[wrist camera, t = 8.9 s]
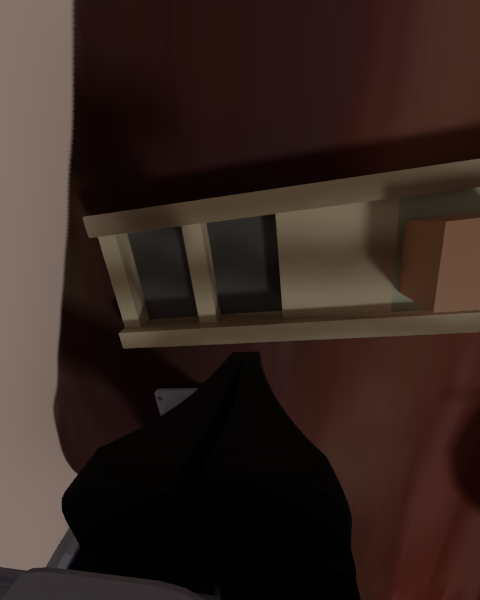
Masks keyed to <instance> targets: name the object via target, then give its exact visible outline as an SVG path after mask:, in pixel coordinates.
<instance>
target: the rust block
mask: <svg viewBox="0 0 480 600" xmlns="http://www.w3.org/2000/svg"><path fill="white" fill-rule="evenodd" d="M399 293H401V294H403V295H404V296H406V297H408V298H409V299H411V300H413V301H414V302H416V303H418V304H419V305H421V306H423V307H425V308H426V309H428V310H430V311H431V312H433V313H437V312H454V311H471V310H480V212H473V213H465V214H456V215H447V216H439V217H430V218H422V219H413V220H405V228H404V239H403V250H402V262H401V273H400V284H399Z"/></svg>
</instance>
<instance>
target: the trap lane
mask: <svg viewBox="0 0 480 600" xmlns="http://www.w3.org/2000/svg"><path fill="white" fill-rule="evenodd" d="M473 212H480V159H474V160H467V161H460V162H453V163H446V164H440V165H433V166H426V167H419V168H412V169H406V170H399V171H392V172H385V173H378V174H372V175H365V176H358V177H351V178H344V179H338V180H331V181H324V182H317V183H310V184H304V185H297V186H290V187H283V188H276V189H270V190H263V191H256V192H249V193H243V194H236V195H229V196H222V197H215V198H209V199H202V200H195V201H188V202H181V203H175V204H168V205H161V206H154V207H147V208H141V209H134V210H127V211H120V212H113V213H107V214H100V215H93V216H86V217H83V221H84V224H85V227H86V230H87V234H88V237H89V238H92V237H98V239H99V242H100V246H101V249H102V252H103V256H104V259H105V262H106V266H107V269H108V272H109V276H110V279H111V282H112V286H113V289H114V292H115V296H116V299H117V302H118V306H119V309H120V312H121V316H122V319H123V322H124V326H125V329H123V330H122V331H121V332H119V336H120V340H121V343H122V346H123V349H124V348H146V347H167V346H189V345H211V344H232V343H254V342H275V341H297V340H319V339H340V338H362V337H384V336H405V335H427V334H448V333H470V332H480V310H471V311H454V312H437V313H433V312H431V311H430V310H428V309H426V308H425V307H423V306H421V305H419V304H418V303H416V302H414V301H413V300H411V299H409V298H408V297H406V296H404V295H403V294H401V293H399V284H400V273H401V262H402V250H403V239H404V228H405V220H413V219H422V218H430V217H439V216H447V215H456V214H465V213H473Z"/></svg>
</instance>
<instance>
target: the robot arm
mask: <svg viewBox="0 0 480 600" xmlns="http://www.w3.org/2000/svg"><path fill="white" fill-rule="evenodd" d="M155 397H156V401H157V405H158V408H159V412H160V415H161V416H160V417H159V418H157V419H155V420H154V421H152V422H150V423H149V424H147V425H145V426H143V427H141V428H140V429H138V430H136V431H134V432H132V433H130V434H128V435H126V436H124V437H122V438H120V439H117V440H115V441H113V442H111V443H109V444H107V445H105V446H102V447H100V448H98V449H97V450H96V451H95V453H94V454H93V455H92V457H91V458H90V459H89V461H88V462H87V463H86V465H85V466H84V467H83V469H82V470H81V471H80V473H79V474H78V475H77V477H76V478H75V479H74V480H73V482H72V483H71V484H70V486H69V487H68V488H67V490H66V491H65V493H64V495H63V497H62V512H63V514H64V517H65V519H66V521H67V523H68V525H69V527H70V528H69V529H68V531H67V532H66V534H65V536H64V537H63V539H62V540H61V542H60V544H59V545H58V547H57V549H56V550H55V552H54V554H53V555H52V557H51V559H50V561H49V562H48V564H47V566H46V567H45V568H32V569H30V570H28V571H25V570H17V569H10V568H2V567H0V600H360V595H359V591H358V587H357V582H356V578H355V577H356V569H355V564H354V560H353V556H352V551H351V529H352V519H351V512H350V508H349V505H348V502H347V500H346V497H345V494H344V492H343V489H342V487H341V485H340V482H339V480H338V478H337V476H336V474H335V472H334V470H333V468H332V466H331V465H330V463H329V461H328V459H327V457H326V456H325V455H324V454H323V453H322V452H321V451H320V450H319V449H318V448H317V447H316V446H315V445H313V444H312V443H311V442H310V441H309V440H308V438H307V437H306V436H305V435H304V434H303V433H302V432H301V431H300V430H299V429H298V427H297V426H296V425H295V424H294V422H293V421H292V420H291V419H290V417H289V416H288V415H287V414H286V412H285V411H284V409H283V408H282V406H281V405H280V403H279V402H278V400H277V399H276V397H275V395H274V393H273V392H272V390H271V388H270V386H269V384H268V381H267V379H266V377H265V374H264V372H263V369H262V363H261V354H260V353H259V352H258V351H257V352H233V353H232V354H231V355H230V356H229V357H228V358H227V359H226V360H225V361H224V363H223V364H222V365H221V366H220V367H219V368H218V369H217V370H216V371H215V372H214V373H213V375H212V376H211V377H210V378H209V379H208V380H207V381H206V382H204V383H203V384H202V385H201V386H200V387H199V388H164V389H157V390H156V391H155ZM161 397H162V398H161Z"/></svg>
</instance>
